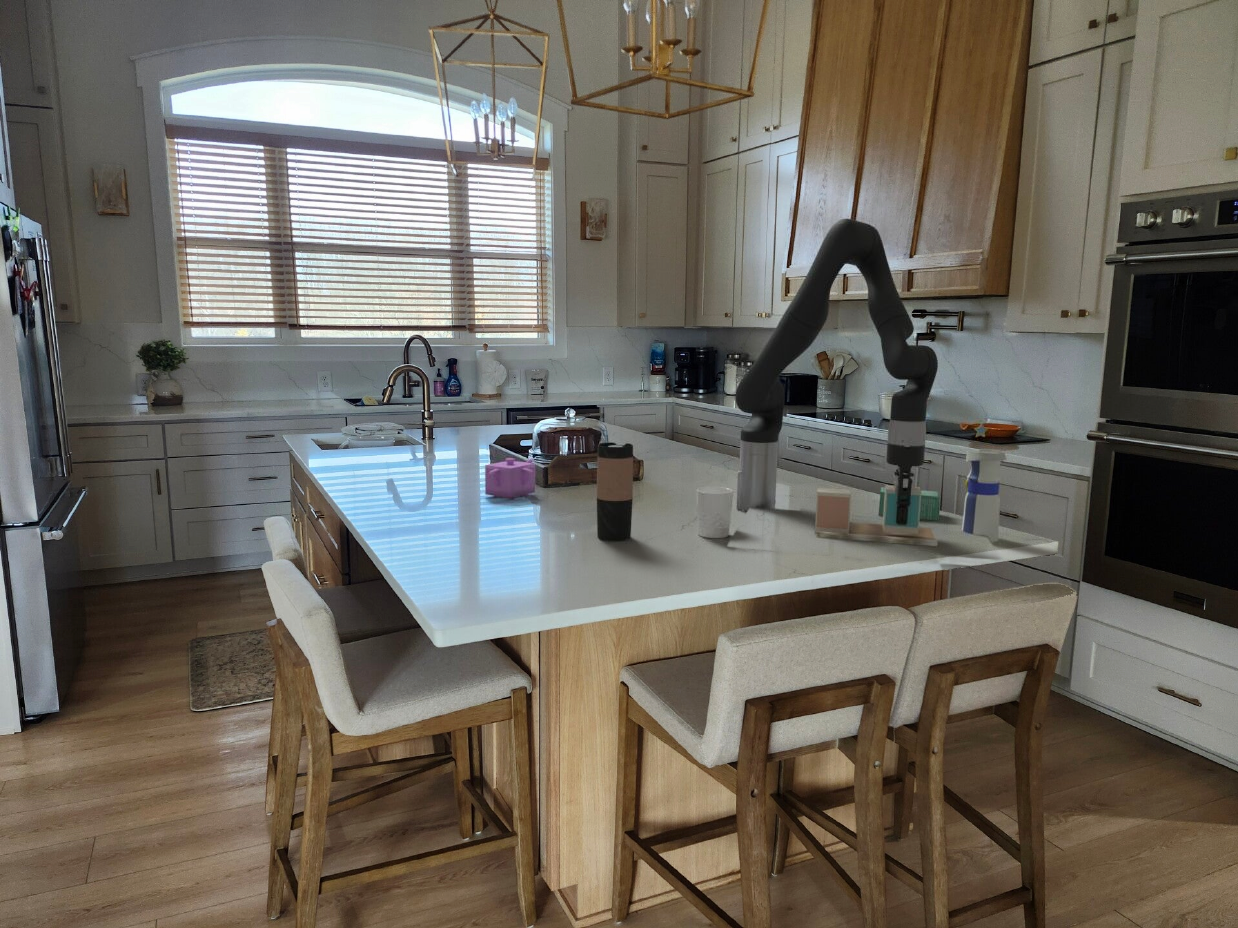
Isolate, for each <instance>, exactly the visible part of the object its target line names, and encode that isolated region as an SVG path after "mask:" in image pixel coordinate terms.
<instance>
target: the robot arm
mask: <svg viewBox="0 0 1238 928" xmlns="http://www.w3.org/2000/svg"><path fill="white" fill-rule="evenodd" d="M846 264H848V265H850V266H851V265H852V266H855V267H856V268H857V269H858V270H859V272H860V274H861V275H862V276H863V278H864V280H865V284H866V287H867V309H868V313H869V316H870V319H871V321H872V323H873V326H874V328H875V330H876V331H877V334H878V336H879V338H880V345H881V346H880V347H881V352H882V358H883V364H884V366H885V369H886V371H887V372H888V374H889V375H890V376H891V377H893V378H894V379H896V380H900V381H901V380H902V381H904V380H905V381H906V380H907V381H906V384H905V385H904V388H903V389H902V390H899V391H897V392H894V393H893V394H892V397H891V401H890V402H891V403H890V415H889V416H890V417H889V418H890V419H889V424H888V430H887V440H886V441H887V443H886V457H885V461H886V463H887V464H888V465H891V466H897V468H896V469H895V471H893V481H894V482H893V486H894V487H895V495H897V502H896V505H897V514H896V523H897V524H899V525H906V524H907V519H908V507H909V506H910V504H911V502H910V498H911V495H912V490H913V487H914V486H913V485H914V483H915V473H914V472H912V468H913V467H921V466H923V465H924V463H925V452H926V439H927V437H926V435H927V427H926V420H927V419H926V418H927V408H928V407H927V405H928V404H927V403H928V399H929V396H930V394H931V392H932V389H933V386H934V383H935V380H936V375H937V373H938V369H939V368H938V366H939V365H938V364H939V361H938V356H937V354H936V352H935V350H934V349H933V347H930V346H929V345H923V344H922V345H921V344H919V345H917V344H916V345H913V344H911V345H910V344H909V343H908V342H907V340H908V339H909V338H910V337H912V335H913V333H914V331H915V330H914V329H915V328H914V323H913V321H912V319H911V316H910V314H909V313H908V310H907V309H906V307H905V304H904V303H903V301H902V297H900V294H899V292H898V289H897V287H896V284H895V282H894V277H893V274H892V272H891V268H890V265H889V261H888V259H887V254H886V250H885V248H884V244H883V240H882V238H881V235H880V233H879V231H878V229H877V228H876V227H875V226H873V225H871V224H869V223H866V222H862V221H859V220H855V219H851V218H841V219H839V220H837V221H836V222H834V223H833V225H832V226H831V227H830V229H829V230H828V232H827V233H826V235H825V237H824V239H823V240H822V242H821V245H820V248H819V249H818V251H817V253H816V255H815V257H814V260H813V262H812V264H811V266H810V268H809V269H808V272H807V274H806V276H805V277H804V280H803V282H802V283H801V285H800V286H799V288H798V290H797V292H796V294H795V295H794V298H792V301H791V302H790V303H789V305H788V307H787V308H786V309H785V312H784V313H783V315H782V317H781V318H780V320H779V321H778V324H777V326H776V327H775V329H774V331H773V333H772V334H771V335H770V337H769V339H768V341H767V342H766V344H765V346H764V347H763V349H762V351H761V352H760V354H759V355H758V357H757V358H756V359H755V360H754V362H753V364H752V365H751V366H750V368H749V369H748V370H747V372H746V373H744V376H742V378H741V379H740V380H739V381H740V382H739V383H738V385H737V387H736V389H735V390H736V391H735V395H734V398H735V403H736V406H737V408H738V409H739V410H740V411H741V412H743V413H746V414H751V418H750V420H749V422H747V424H746V425H745V426H743V427H742V428H741V431H740V439H739V445H740V446H739V447H740V448H739V467H738V469H739V470H737V486H736V487H737V489H736V510H741V511H746V512H748V511H749V509H751V508H753V509H764V510H765V509H766V510H775V509H776V501H777V500H776V497H777V496H776V495H777V473H778V452H779V451H778V450H779V447H778V446H779V435H780V433H781V430H782V428H783V421H784V420H783V419H784V410H785V390H784V389H785V388H784V386H783V383H782V382H781V380H780V379H779V377H780V375H781V374H782V372H784V371H785V369H786V368H787V367H789V366H790V364H792V363H794V361H795V360H796V359H798V358H799V357H800V356H801V355H802V354H804V353H805V351H806V350H808V349H809V348H810V347H811V345H812V344H813V343H814V341H815V340H816V339H817V337H818V336H819V334H820V333H821V331H822V329H823V327H824V325H825V324H826V322H827V320H828V316H829V312H830V311H829V308H830V297H831V289H832V287H833V284H834V283H835V280H836V279H837V277H838V275H839V274H840V271H841V270H842V269H843V267H844V266H845V265H846ZM901 495H902V496H907V500H901V499H900V497H901Z"/></svg>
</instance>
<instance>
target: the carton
mask: <svg viewBox="0 0 1238 928" xmlns="http://www.w3.org/2000/svg"><path fill="white" fill-rule="evenodd" d="M884 488H885V497H884V512H883V516H882V524H883V531H884V532H898V533H911V534H918V532H919V527H920V519H919V518H920V505H921V490H922V489H921V487H920V486H913V490H912V495H911V498H910V502H911V504H910V506H909V507H908V519H907V524H906V525H899V524H897V523H896V514H897V505H896V502H897V495H895V487H894V485H890V484H889V485H886V484H885V485H884ZM900 499H901V500H907V496H902V495H901V497H900Z"/></svg>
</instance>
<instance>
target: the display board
mask: <svg viewBox="0 0 1238 928" xmlns="http://www.w3.org/2000/svg"><path fill="white" fill-rule="evenodd" d="M816 537H817V538H823V539H835V540H851V541H863V542H864V541H869V542H876V543H877V542H880V543H890V544H901V545H918V546H919V545H920V546H932V547H937V546H938V542H939V541H938V540H937V539H935V536H934V534H933V531H932V529H931V527H925V526H924V527H921V526H919V532H918V534H911V533H898V532H884V531H883V523H867V522H854V521H853V522H851V521H849V534H848V533H834V532H820V531H817V533H816Z"/></svg>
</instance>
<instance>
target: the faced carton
mask: <svg viewBox="0 0 1238 928" xmlns="http://www.w3.org/2000/svg"><path fill="white" fill-rule="evenodd" d="M851 498H852V489H848V488H847V489H842V488H827V487H818V488H817V490H816V502H815V503H816V507H815V526H814V534H817V531H820V532H834V533H848V534H849V522H851V521H850V519H851V518H850V517H851V503H852V501H851V500H852V499H851Z"/></svg>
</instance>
